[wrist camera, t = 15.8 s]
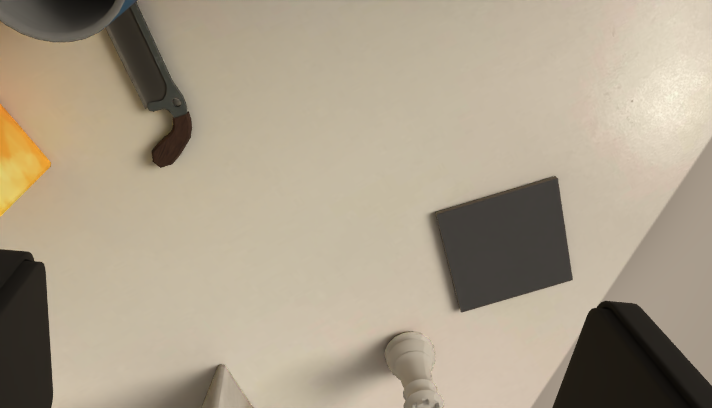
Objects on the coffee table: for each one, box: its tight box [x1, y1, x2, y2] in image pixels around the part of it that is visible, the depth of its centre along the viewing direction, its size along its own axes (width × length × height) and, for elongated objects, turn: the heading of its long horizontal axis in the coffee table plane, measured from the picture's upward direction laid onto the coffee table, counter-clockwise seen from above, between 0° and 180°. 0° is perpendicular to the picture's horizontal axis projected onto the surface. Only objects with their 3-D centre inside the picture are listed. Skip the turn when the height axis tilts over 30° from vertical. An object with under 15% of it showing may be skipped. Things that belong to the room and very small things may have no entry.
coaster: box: [435, 176, 573, 312], centre depth 50 cm, size 10×10×1 cm
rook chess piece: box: [385, 332, 444, 408], centre depth 50 cm, size 4×4×8 cm
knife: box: [105, 2, 192, 168], centre depth 41 cm, size 14×4×1 cm, turn 18°
